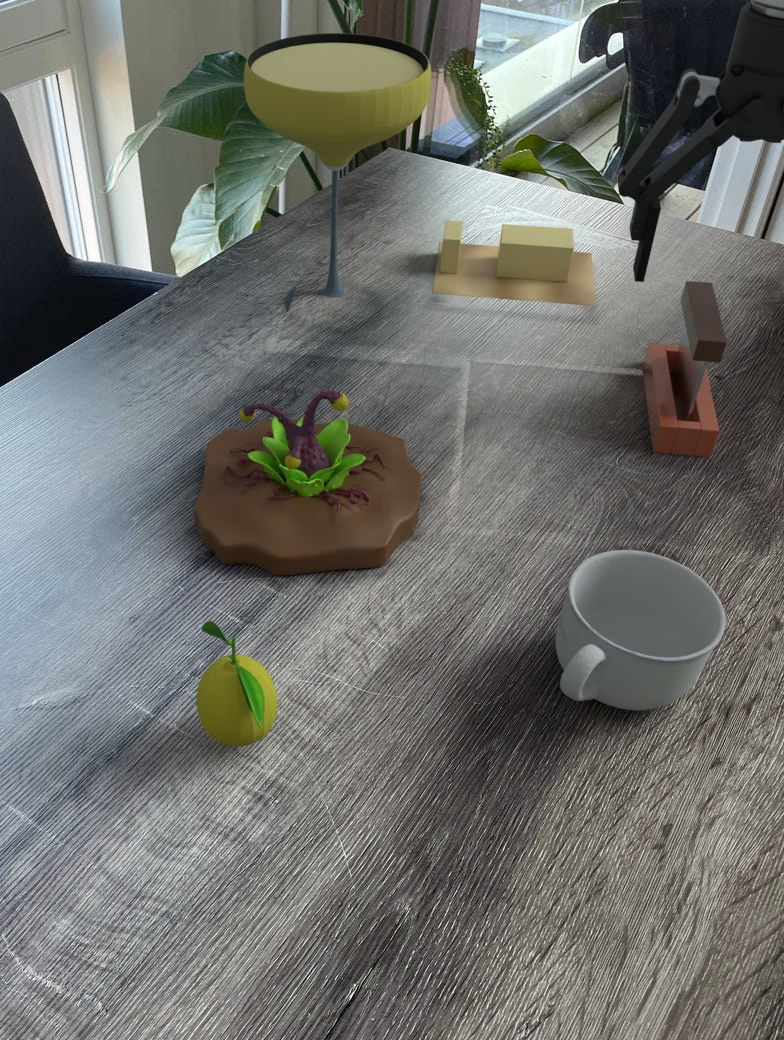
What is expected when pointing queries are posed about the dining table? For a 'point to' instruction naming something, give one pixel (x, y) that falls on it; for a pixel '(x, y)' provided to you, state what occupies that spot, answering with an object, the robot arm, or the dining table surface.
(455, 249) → the butter slice
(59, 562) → the dining table surface
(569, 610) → the teacup
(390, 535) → the plant
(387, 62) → the cocktail glass
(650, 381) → the knife stand
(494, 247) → the board
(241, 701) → the lemon
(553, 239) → the butter
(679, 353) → the knife
